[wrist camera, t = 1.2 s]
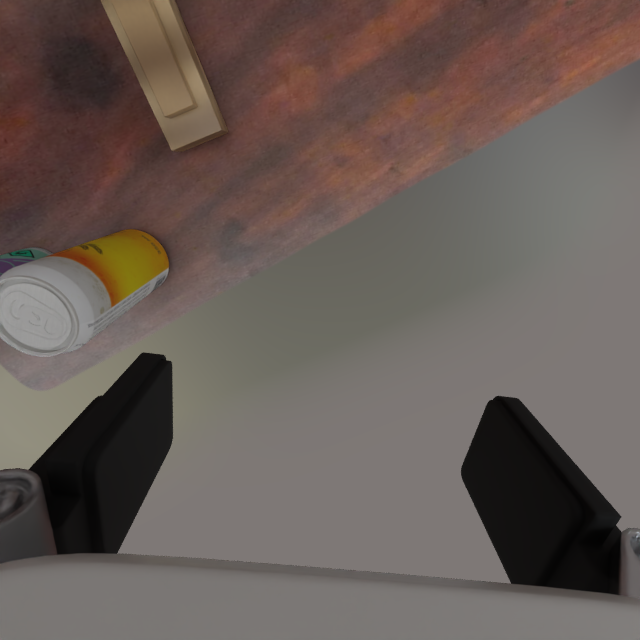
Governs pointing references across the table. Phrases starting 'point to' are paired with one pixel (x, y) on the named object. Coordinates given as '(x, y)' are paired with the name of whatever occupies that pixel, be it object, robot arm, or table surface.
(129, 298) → the beer can
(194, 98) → the tan rectangular block
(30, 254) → the spray can
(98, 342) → the table surface
